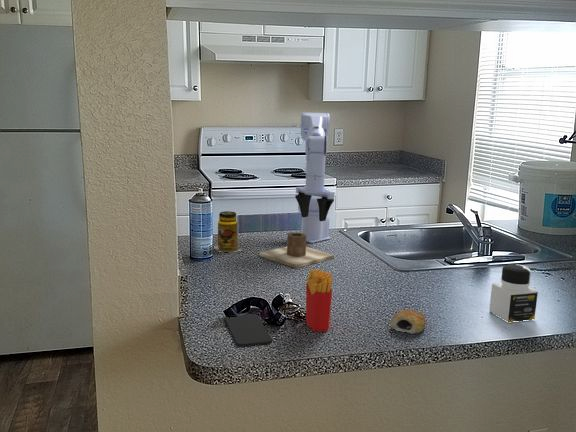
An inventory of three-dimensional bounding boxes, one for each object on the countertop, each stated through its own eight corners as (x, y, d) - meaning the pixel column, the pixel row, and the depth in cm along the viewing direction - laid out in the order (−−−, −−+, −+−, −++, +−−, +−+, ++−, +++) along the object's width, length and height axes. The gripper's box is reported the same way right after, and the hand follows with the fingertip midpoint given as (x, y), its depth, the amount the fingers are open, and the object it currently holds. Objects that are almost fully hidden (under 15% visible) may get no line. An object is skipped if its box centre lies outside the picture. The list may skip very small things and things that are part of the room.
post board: (296, 247, 184) (297, 232, 183) (333, 258, 172) (334, 242, 171) (259, 255, 173) (259, 239, 172) (296, 268, 162) (296, 251, 160)
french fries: (301, 319, 125) (303, 267, 123) (318, 317, 127) (320, 265, 124) (317, 334, 118) (320, 279, 115) (335, 332, 119) (337, 277, 116)
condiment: (221, 254, 174) (221, 215, 171) (211, 247, 181) (211, 210, 179) (243, 251, 177) (243, 213, 175) (232, 244, 185) (232, 208, 182)
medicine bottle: (508, 323, 126) (514, 272, 124) (488, 312, 133) (493, 262, 130) (535, 321, 128) (541, 270, 126) (514, 309, 135) (520, 260, 132)
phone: (256, 313, 127) (274, 341, 113) (256, 317, 127) (274, 344, 113) (223, 316, 125) (237, 344, 111) (223, 320, 125) (237, 348, 111)
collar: (296, 250, 176) (297, 231, 175) (309, 254, 172) (310, 235, 171) (283, 253, 172) (283, 234, 171) (296, 257, 168) (296, 238, 167)
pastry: (402, 316, 129) (403, 300, 128) (431, 323, 126) (433, 306, 125) (388, 330, 121) (389, 313, 120) (419, 338, 118) (420, 321, 117)
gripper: (289, 173, 177) (288, 216, 180) (323, 178, 167) (321, 224, 170) (305, 172, 182) (303, 214, 185) (339, 177, 172) (337, 221, 174)
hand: (313, 218), depth 177 cm, fingers open, 7 cm apart
